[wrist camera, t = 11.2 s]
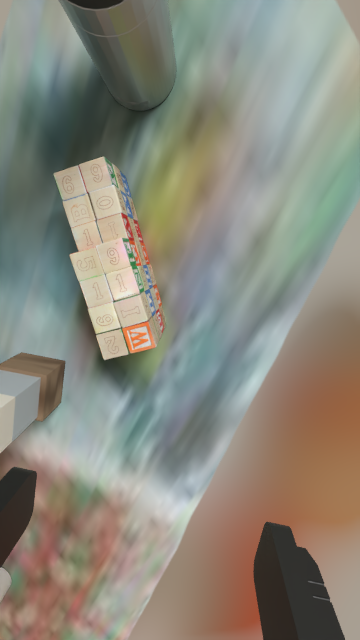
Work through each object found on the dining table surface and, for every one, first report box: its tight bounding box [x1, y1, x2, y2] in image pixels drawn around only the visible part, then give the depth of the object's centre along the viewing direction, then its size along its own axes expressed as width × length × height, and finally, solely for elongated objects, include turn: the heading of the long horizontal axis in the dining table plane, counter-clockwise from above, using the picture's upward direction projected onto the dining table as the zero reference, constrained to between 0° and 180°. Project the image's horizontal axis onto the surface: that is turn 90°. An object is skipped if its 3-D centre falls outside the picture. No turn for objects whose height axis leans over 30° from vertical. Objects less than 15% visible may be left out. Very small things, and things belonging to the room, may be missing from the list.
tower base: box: [0, 352, 65, 421], centre depth 47 cm, size 7×7×6 cm
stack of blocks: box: [54, 156, 166, 360], centre depth 39 cm, size 21×6×12 cm, turn 15°
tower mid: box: [0, 370, 41, 442], centre depth 41 cm, size 6×6×6 cm
